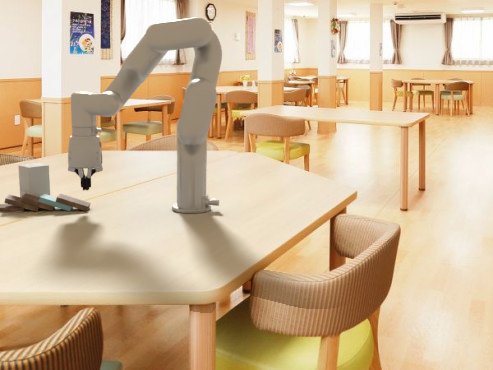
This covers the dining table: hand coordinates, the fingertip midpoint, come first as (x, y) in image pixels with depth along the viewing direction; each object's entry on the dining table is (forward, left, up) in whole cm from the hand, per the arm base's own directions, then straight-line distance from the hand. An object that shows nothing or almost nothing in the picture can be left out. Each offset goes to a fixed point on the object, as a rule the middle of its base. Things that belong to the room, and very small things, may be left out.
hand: (86, 189), depth 191 cm
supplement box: (+20, -6, -7) cm, 22 cm away
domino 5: (-1, 0, -6) cm, 6 cm away
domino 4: (+4, +1, -6) cm, 7 cm away
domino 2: (+14, +3, -6) cm, 16 cm away
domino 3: (+10, +2, -6) cm, 12 cm away
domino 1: (+18, +4, -6) cm, 20 cm away
